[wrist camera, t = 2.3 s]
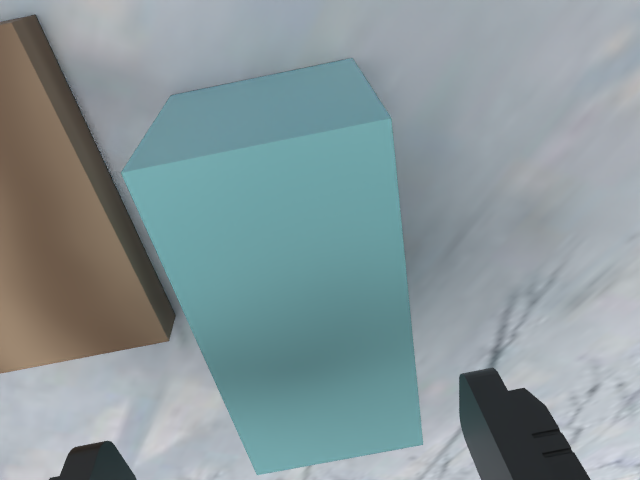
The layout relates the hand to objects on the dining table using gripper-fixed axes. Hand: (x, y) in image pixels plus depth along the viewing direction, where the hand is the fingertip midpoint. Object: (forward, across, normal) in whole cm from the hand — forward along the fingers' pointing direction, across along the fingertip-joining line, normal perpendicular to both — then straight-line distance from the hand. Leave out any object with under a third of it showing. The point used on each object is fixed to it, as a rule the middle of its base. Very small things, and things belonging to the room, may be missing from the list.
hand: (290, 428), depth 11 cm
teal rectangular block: (+9, -1, 0) cm, 9 cm away
